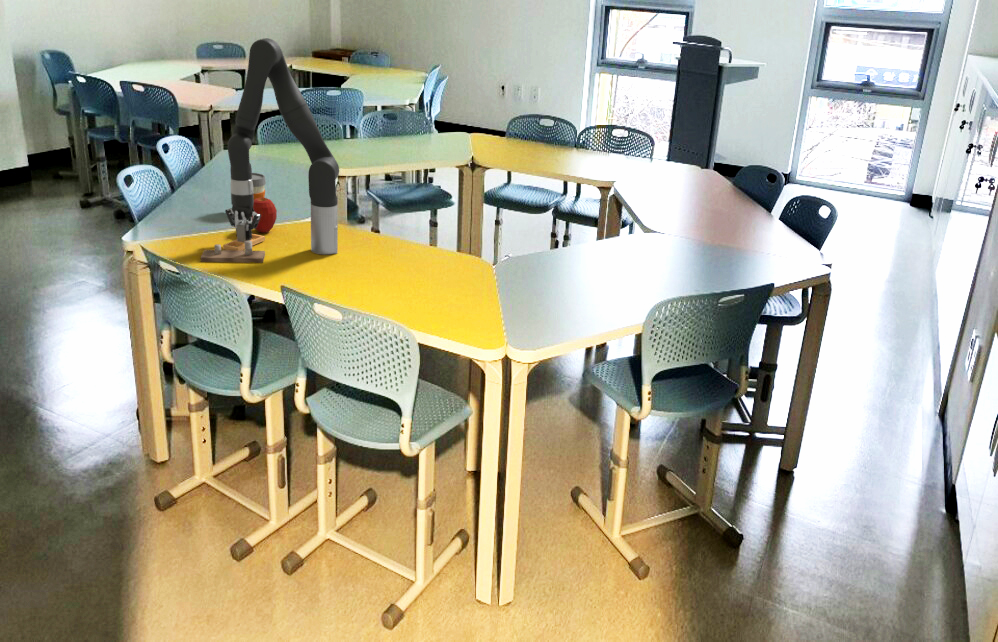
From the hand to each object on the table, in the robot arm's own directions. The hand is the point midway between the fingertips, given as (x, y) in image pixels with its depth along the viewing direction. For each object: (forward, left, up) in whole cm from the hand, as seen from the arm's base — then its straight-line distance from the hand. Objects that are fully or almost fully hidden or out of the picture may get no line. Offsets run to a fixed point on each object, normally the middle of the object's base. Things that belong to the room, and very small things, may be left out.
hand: (244, 238), depth 301 cm
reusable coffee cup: (+2, -41, -3) cm, 41 cm away
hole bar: (0, 0, -2) cm, 2 cm away
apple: (-5, -17, -3) cm, 18 cm away
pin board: (+2, +14, -3) cm, 14 cm away
